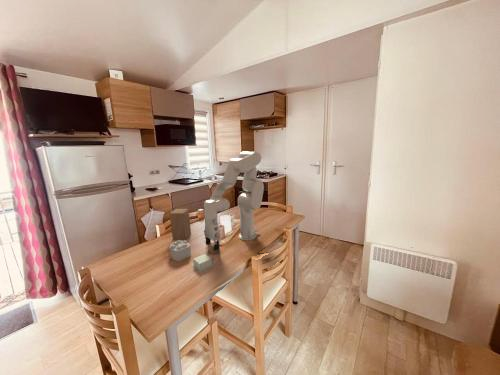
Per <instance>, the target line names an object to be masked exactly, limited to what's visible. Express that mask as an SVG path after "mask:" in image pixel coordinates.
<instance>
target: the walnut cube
mask: <svg viewBox="0 0 500 375" xmlns="http://www.w3.org/2000/svg"><path fill="white" fill-rule="evenodd" d="M214 244H215V243H214V241H213V242H211V243H210V244H208V245H207V250H208V252H210V253H211V254H215V253H217V252H219V251H220V250H221V248H220V247H219V249H218V250H214Z"/></svg>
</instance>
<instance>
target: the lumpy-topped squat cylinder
mask: <svg viewBox="0 0 500 375" xmlns="http://www.w3.org/2000/svg"><path fill="white" fill-rule="evenodd" d="M169 254H170V259H172V260H173V261H176V262H180V261H183V260H185V259H188V258H191V256H192V249H191V244H190V243H189V242H188V241H187V239H186V240H174V241H173V242H171V243H170V244H169Z"/></svg>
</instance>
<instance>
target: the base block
mask: <svg viewBox="0 0 500 375" xmlns="http://www.w3.org/2000/svg"><path fill="white" fill-rule="evenodd" d="M192 259H193V264H194V266H195V267H196V268H198V269H199V270H200V271H201V270H203V269H205V268H207V267H209V266H211V265H212V264H213V262H212V258H211V257H209V256H208V255H207V254H205V253H203V254H201V255H199V256H197V257H194V258H192Z"/></svg>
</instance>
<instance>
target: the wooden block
mask: <svg viewBox="0 0 500 375" xmlns="http://www.w3.org/2000/svg"><path fill="white" fill-rule="evenodd" d="M169 220H170V227H171V228H170V229H171V236H172V240H174V241H178V240H180V241H184V240H186V241H187V239H188V238H189V237H190V236H191V235H192V230H191V229H192V228H191V221H190V212H189V208H175V209H173V210H172V211H171V212H169Z"/></svg>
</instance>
